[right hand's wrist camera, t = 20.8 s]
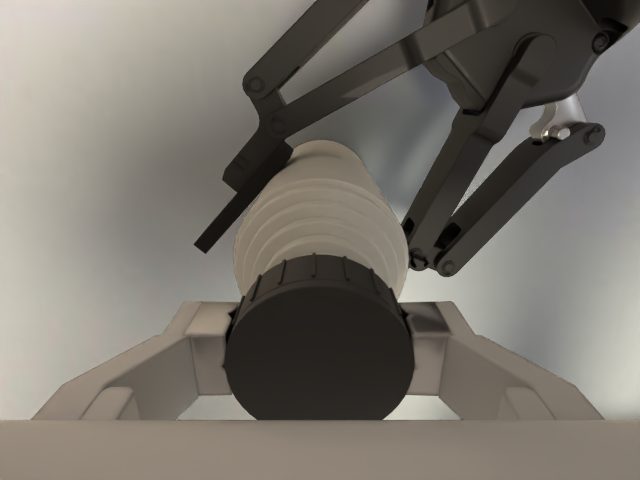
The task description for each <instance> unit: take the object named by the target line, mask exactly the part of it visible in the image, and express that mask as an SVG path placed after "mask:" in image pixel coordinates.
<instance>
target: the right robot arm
mask: <svg viewBox="0 0 640 480" xmlns="http://www.w3.org/2000/svg"><path fill="white" fill-rule="evenodd" d="M239 304H240V302H203V301H193V302H184V303H183V304H182V306H181V307H180V308H179V310H178V311H177V313H176V314H175V316H174V317H173V319H172V320H171V322H170V323H169V325H168V326H167V328H166V329H165V331H164V332H163V334H162V335H156V336H154V337H152V338H150V339H148V340H146V341H144V342H142V343H140V344H139V345H137V346H135V347H133V348H131V349H129V350H127V351H125V352H124V353H122V354H120V355H118V356H116V357H114V358H112V359H110V360H108V361H107V362H105V363H103V364H101V365H99V366H97V367H95V368H93V369H92V370H90V371H88V372H86V373H84V374H82V375H80V376H78V377H76V378H75V379H73V380H71V381H69V382H67V383H65V384H63V385H62V386H61V387H60V388H59V389H58V390H57V391H56V392H55V394H54V395H53V396H52V397H51V398H50V399H49V400H48V401H47V402H46V403H45V405H44V406H43V407H42V408H41V409H40V410H39V411H38V412H37V413H36V415H35V416H34V417H33V418H32V419H31V420H0V480H640V420H605V419H604V418H603V417H602V416H601V415H600V413H599V412H598V411H597V410H596V409H595V408H594V407H593V405H592V404H591V403H590V402H589V401H588V400H587V399H586V398H585V396H584V395H583V394H582V393H581V392H580V391H579V390H578V388H577V387H576V386H575V385H573V384H571V383H569V382H567V381H565V380H564V379H562V378H560V377H558V376H556V375H554V374H552V373H550V372H549V371H547V370H545V369H543V368H541V367H539V366H537V365H536V364H534V363H532V362H530V361H528V360H526V359H524V358H523V357H521V356H519V355H517V354H515V353H513V352H511V351H509V350H508V349H506V348H504V347H502V346H500V345H498V344H496V343H495V342H493V341H491V340H489V339H487V338H485V337H483V336H482V335H475V334H474V332H473V331H472V329H471V328H470V326H469V325H468V323H467V322H466V320H465V319H464V317H463V316H462V314H461V313H460V311H459V310H458V308H457V307H456V305H455V304H454V303H453V302H451V301H443V302H406V303H398V304H399V307H400V310H401V312H402V318H403V320H404V321H405V326H406V328H407V331H408V334H409V336H410V339H411V342H412V345H413V350H414V356H415V368H414V373H413V378H412V381H411V384H410V387H409V389H408V391H407V393H406V395H429V396H439V398H440V399H441V400H442V401H443V402H444V403H445V404H446V405H447V406H448V407H449V408H450V409H452V410H453V411H454V412H455V413H456V414H457V415H458V416H459V417H460V418H461V419H462V420H175V419H176V418H177V417H178V416H179V415H181V414H182V413H183V412H184V411H185V410H186V409H187V408H188V407H189V406H190V405H191V404H192V403H193V402H194V401H195V400H196V399H197V398H198V396H208V395H232V393H233V392H232V391H231V388H230V386H229V383H228V381H227V377H226V372H225V361H224V360H225V350H226V347H227V343H228V340H229V337H230V334H231V332H232V329H233V326H234V325H232V322H233V320H234V317H235V314H236V312H237V309H238V307H239Z"/></svg>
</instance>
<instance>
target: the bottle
mask: <svg viewBox="0 0 640 480" xmlns="http://www.w3.org/2000/svg"><path fill="white" fill-rule="evenodd" d="M293 150H294V151H293V153H292V155H291V158H290V159H289V160H288V161H287V162H286V164H285V165H284V166H283V167H282V168H281V169H280V170H279V171H278V173H277V174H276V175H275V176H274V177H273V178H272V179H271V180H270V181H269V182H268V184H267V185H266V186H265V188H264V189H263V191H262V192H261V194H260V195H259V197H258V198H257V200H256V201H255V203H254V205H253V206H252V208H251V209H250V211H249V212H248V214H247V215H246V217H245V218H244V220H243V222H242V224H241V226H240V228H239V230H238V233H237V236H236V239H235V244H234V250H233V264H234V272H235V276H236V280H237V283H238V287H239V290H240V292H241V295H242V297H243V295H244V296H246V294H247V292H248V291H249V289H250V288H251V286H252V285H253V284H254V283H255V281H256V280H257V277H258V275H259V274H261V275H263V274H264V273H265V272H266V271H268V270H269V269H271V268H272V267H274V266H275V265H278V264H280V263H282V260H284V259H286V260H289V259H292V258H295V257H300V256H305V255H312V253H316V254H323V255H334V256H340V257H343V256H347V259H351V260H353V261H355V262H358V263H360V264H362V265H364V266H365V267H367V268H369V269H370V268H372V269H374V272H375V273H376V274H377V275H378V276H379V277H380V278H381V279H382V280H383V281H384V282H385V283H386V284H387V286H388V287H389V288H390V287H392V289H393V291H394V294H395V297H396V299H397V300H398V298H399V296H400V294H401V292H402V289H403V286H404V282H405V280H406V275H407V271H408V262H409V255H408V246H407V241H406V237H405V234H404V232H403V229H402V227H401V225H400V223H399V221H398V219H397V218H396V216H395V214H394V213H393V211H392V209H391V208H390V206H389V205H388V203H387V201H386V200H385V198H384V196H383V195H382V193H381V192H380V190H379V188H378V187H377V185H376V184H375V182H374V180H373V179H372V177H371V175H370V174H369V172H368V171H367V169H366V167H365V166H364V164H363V163H362V161H361V160H360V158H359V157H358V156H357V155H356V154H355V153H354V152H353V151H352V150H350V149H349V148H348V147H346V146H344V145H342V144H340V143H337V142H334V141H329V140H315V141H310V142H306V143H303V144H301V145H299V146H297V147H296V148H294V149H293Z"/></svg>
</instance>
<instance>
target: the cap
mask: <svg viewBox="0 0 640 480" xmlns="http://www.w3.org/2000/svg"><path fill="white" fill-rule="evenodd" d="M232 325H234V326H233V329H232V332H231V334H230V337H229V340H228V343H227V347H226V350H225V360H224V361H225V372H226V377H227V381H228V383H229V386H230V388H231V391H232V392H233V394H234V396H235V398H236V399H237V400H238V402H239V403H240V404H241V406H242V407H243V408H244V409H245V410H246V411H247V412H248V413H249V414H250V415H252V416H253V417H254V418H256V419H257V420H383V419H384V418H385V417H386V416H388V415H389V414H390V413H391V412H392V411H393V410H394V409H395V408H396V407H397V406H398V405H399V404H400V402H401V401H402V399H403V398H404V397H405V395H406V393H407V391H408V389H409V387H410V384H411V381H412V378H413V373H414V368H415V356H414V350H413V345H412V342H411V339H410V336H409V334H408V331H407V328H406V326H405V321H404V320H403V318H402V312H401V310H400V307H399V304H398V302H397V299H396V297H395V294H394V291H393V289H392V287H390V288H389V287H388V286H387V284H386V283H385V282H384V281H383V280H382V279H381V278H380V277H379V276H378V275H377V274H376V273H375V272H374V269H372V268H370V269H369V268H367V267H365V266H364V265H362V264H360V263H358V262H355V261H353V260H351V259H347V256H343V257H340V256H334V255H323V254H316V253H312V255H305V256H300V257H295V258H292V259H289V260H286V259H284V260H282V263H280V264H278V265H275V266H274V267H272V268H271V269H269V270H268V271H266V272H265V273H264V274H263V275H261V274H259V275H258V277H257V280H256V281H255V283H254V284H253V285H252V286H251V288H250V289H249V291H248V292H247V294H246V296H244V295H243V297H242V299H241V302H240V304H239V307H238V309H237V312H236V314H235V317H234V320H233V322H232Z"/></svg>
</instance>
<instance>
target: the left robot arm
mask: <svg viewBox="0 0 640 480" xmlns="http://www.w3.org/2000/svg"><path fill="white" fill-rule="evenodd" d="M368 1H369V0H317V1H316V2H315V3H314V4H313V5H312V6H311V7H310V8H309V9H308V10H307V11H306V12H305V13H304V14H303V15H302V16H301V17H300V18H299V19H298V20H297V21H296V22H295V23H294V24H293V25H292V27H291V28H290V29H289V30H288V31H287V32H286V33H285V34H284V35H283V36H282V37H281V38H280V39H279V40H278V41H277V42H276V43H275V44H274V45H273V46H272V47H271V48H270V49H269V50H268V51H267V52H266V54H265V55H264V56H263V57H262V58H261V59H260V60H259V61H258V62H257V63H256V64H255V65H254V66H253V67H252V68H251V69H250V70H249V71H248V72H247V73H246V75H245V76H244V78H243V83H242V85H243V90H244V91H245V93H246V95H247V96H249V97H250V99H251V101H252V103H253V105H254V107H255V108H256V110H257V112H258V115H259V119H260V123H259V128H258V130H257V131H256V133H255V134H254V135H253V136H252V138H251V139H250V140H249V141H248V142H247V144H246V145H245V146H244V147H243V148H242V150H241V151H240V152H239V153H238V155H237V156H236V157H235V158H234V159H233V161H232V162H231V163H230V164H229V165H228V167H227V168H226V169H225V172H224V175H223V179H222V180H223V181H224V182H225V183H227V184H228V185H229V186H230V187H231V188H233V189H234V190H235V191H236V192H237V194H236V195H235V196H234V197H233V199H232V200H231V201H230V202H229V203H228V204H227V206H226V207H225V208H224V209H223V210H222V211H221V213H220V214H219V215H218V216H217V217H216V218H215V220H214V221H213V222H212V223H211V224H210V225H209V226H208V228H207V229H206V230H205V231H204V232H203V234H202V235H201V236H200V237H199V238H198V240H197V241H196V242H195V243H194V244H193V245H195V246H196V247H197V248H199V249H200V250H201V251H202V252H204V253H205V254H206V253H207V252H208V251H209V249H210V248H211V247H212V246H213V245H214V244H215V243H216V242H217V240H218V239H219V238H220V237H221V236H222V235H223V234H224V233H225V231H226V230H227V229H228V228H229V227H230V226H231V225H232V223H233V222H234V221H235V220H236V219H237V218H238V217H239V216H240V214H241V213H242V212H243V211H244V210H245V209H246V208H247V207H248V205H249V204H250V203H251V202H252V201H253V200H254V199H255V197H256V196H257V195H258V194H259V193H260V192H261V191H262V190H263V188H264V187H265V186H266V185H267V184H268V182H269V181H270V180H271V179H272V178H273V177H274V176H275V175H276V174H277V173H278V171H279V170H280V169H281V168H282V167H283V166H284V165H285V164H286V162H287V161H288V160H289V159H290V158H291V155H292V153H293V151H294V150H293V149H292V148H291V147H290V146H289V145H288V144H287V143H286V142H285V141H284V140H285V139H286V138H287V137H289V136H291V135H293V134H294V133H296V132H298V131H300V130H302V129H303V128H305V127H307V126H309V125H311V124H312V123H314V122H316V121H318V120H320V119H322V118H323V117H325V116H327V115H329V114H331V113H332V112H334V111H336V110H338V109H340V108H341V107H343V106H345V105H347V104H349V103H350V102H352V101H354V100H356V99H358V98H359V97H361V96H363V95H365V94H367V93H368V92H370V91H372V90H374V89H376V88H378V87H379V86H381V85H383V84H385V83H387V82H388V81H390V80H392V79H394V78H396V77H397V76H399V75H401V74H403V73H405V72H406V71H408V70H410V69H412V68H414V67H416V66H418V65H420V64H423V65H424V66H425V67H426V68H427V69H428V70H429V72H430V73H431V74H432V75H434V76H435V77H437V78H439V79H440V80H442V81H444V82H445V83H446V84H447V86H448V88H449V91H450V93H451V95H452V97H453V99H454V100H455V101H456V102H457V103H458V105H459V106H460V109H459V111H458V113H457V115H456V116H455V118H454V120H453V123H452V130H451V133H450V135H449V136H448V138H447V140H446V142H445V144H444V146H443V148H442V149H441V151H440V153H439V155H438V157H437V159H436V160H435V162H434V164H433V166H432V168H431V170H430V172H429V173H428V175H427V177H426V179H425V181H424V183H423V184H422V186H421V188H420V190H419V192H418V194H417V196H416V197H415V199H414V201H413V203H412V205H411V207H410V209H409V210H408V212H407V214H406V216H405V218H404V220H403V221H402V223H401V227H402V229H403V232H404V234H405V237H406V241H407V246H408V255H409V262H408V269H409V268H411V269H413V270H415V271H422V270H425V269H427V268H431V269H433V270H436V271H437V272H438V273H439V274H440V275H441V276H443V277H450V276H453V275H454V274H456V273H457V272H458V271H459V270H460V269H461V268H462V267H463V266H464V265H465V264H466V263H467V262H468V261H469V260H470V259H471V258H472V257H473V256H474V255H475V254H476V253H477V252H478V251H479V250H480V249H481V248H482V247H483V246H484V245H485V244H486V243H487V242H488V241H489V240H490V239H491V238H492V237H493V236H494V235H495V234H496V233H497V232H498V231H499V230H500V229H501V228H502V227H503V226H504V225H505V224H506V223H507V222H508V221H509V220H510V219H511V218H512V217H513V216H514V215H515V214H516V213H517V212H518V211H519V210H520V209H521V207H522V206H523V205H524V204H525V203H526V202H527V201H528V200H529V199H530V198H531V197H532V196H533V195H534V194H535V193H536V192H537V191H538V190H539V189H540V188H541V187H542V186H543V185H544V184H545V183H546V182H547V181H548V180H549V179H550V178H551V177H552V176H553V175H554V174H555V173H556V172H557V171H558V170H559V169H560V168H562V167H563V166H565V165H567V164H569V163H571V162H572V161H574V160H576V159H578V158H579V157H581V156H583V155H585V154H586V153H588V152H590V151H592V150H594V149H595V148H597V147H598V146H599V145H600V144H601V143H602V142H603V140H604V137H605V129H604V128H603V126H602V125H600V124H598V123H588V122H587V121H586V118H585V115H584V112H583V109H582V106H581V104H580V101H579V98H578V95H577V91H578V90H579V88H580V87H581V86H582V84H583V83H584V81H585V79H586V77H587V74H588V72H589V70H590V69H591V67H592V65H593V64H594V62H595V61H596V60H597V58H598V57H599V56H600V55H601V54H602V53H603V52H605V51H606V50H607V49H608V48H610V47H611V46H612V45H614V44H615V43H616V42H617V41H619V40H620V39H621V38H622V37H624V36H625V35H626V34H627V33H628V32H630V31H631V30H632V29H633V28H634V27H635V26H636V25H637V24H638V23H639V22H640V0H428V5H427V10H426V15H425V20H424V25H423V27H422V28H421V29H419V30H417V31H415V32H414V33H412V34H410V35H408V36H407V37H405V38H403V39H402V40H400V41H398V42H396V43H395V44H393V45H391V46H389V47H388V48H386V49H384V50H382V51H381V52H379V53H377V54H375V55H374V56H372V57H370V58H368V59H367V60H365V61H363V62H361V63H360V64H358V65H356V66H354V67H353V68H351V69H349V70H347V71H346V72H344V73H342V74H340V75H339V76H337V77H335V78H333V79H332V80H330V81H328V82H326V83H325V84H323V85H321V86H319V87H318V88H316V89H314V90H312V91H311V92H309V93H307V94H305V95H304V96H302V97H300V98H298V99H297V100H295V101H293V102H291V103H290V104H288V105H286V103H285V101H284V99H283V97H282V95H281V93H280V91H279V89H280V88H281V87H282V86H283V85H284V84H285V83H286V82H287V81H288V80H289V79H290V78H291V77H293V76H294V75H295V74H296V73H297V72H298V71H299V70H300V69H301V68H302V67H303V66H304V65H305V64H306V63H307V62H308V61H309V60H310V59H311V58H312V57H313V56H314V55H315V54H316V53H317V52H318V51H319V50H320V49H321V48H322V47H323V46H324V45H325V44H326V43H327V42H328V41H329V40H330V39H331V38H332V37H333V36H334V35H335V34H336V33H337V32H338V31H339V30H340V29H341V28H342V27H343V26H344V25H345V24H346V23H347V22H348V21H349V20H350V19H351V18H352V17H353V16H354V15H355V14H356V13H357V12H358V11H359V10H360V9H361V8H362V7H363V6H364V5H365V4H366V3H367V2H368ZM539 105H544V106H545V108H544V113H543V115H542V117H541V118H540V119H539V120H538V121H537V122H536V123H535V124H534V125H532V126H531V127H530V130H529V131H530V134H531V137H529V138H528V139H526V140H525V141H523V142H522V143H521V144H520V145H518V146H517V147H516V148H515V149H514V150H513V151H512V152H511V153H510V154H509V155H508V156H507V157H506V158H505V159H504V160H503V161H502V163H501V164H500V165H499V166H498V167H497V168H496V169H495V170H494V171H493V172H492V173H491V174H490V175H489V177H488V178H487V179H486V180H485V181H484V182H483V183H482V184H481V185H480V186H479V187H478V188H477V190H476V191H475V192H474V193H473V194H472V195H471V196H470V197H469V198H468V199H467V200H466V201H465V202H464V204H463V205H462V206H461V207H460V208H459V209H458V210H457V211H456V212H455V213H454V214H453V212H454V210H455V209H456V207H457V205H458V204H459V202H460V200H461V198H462V197H463V195H464V193H465V192H466V190H467V188H468V187H469V185H470V183H471V181H472V180H473V178H474V176H475V175H476V173H477V171H478V170H479V168H480V166H481V164H482V163H483V161H484V159H485V158H486V156H487V154H488V153H489V151H490V149H491V148H492V146H493V145H494V144H496V143H498V142H499V141H500V140H501V139H502V138H503V137H504V135H505V134H506V132H507V131H508V129H509V127H510V126H511V124H512V122H513V120H514V119H515V117H516V115H517V114H518V112H519V110H520V109H525V108H530V107H534V106H539ZM452 214H453V215H452ZM451 215H452V216H451ZM450 217H451V218H450Z"/></svg>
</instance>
